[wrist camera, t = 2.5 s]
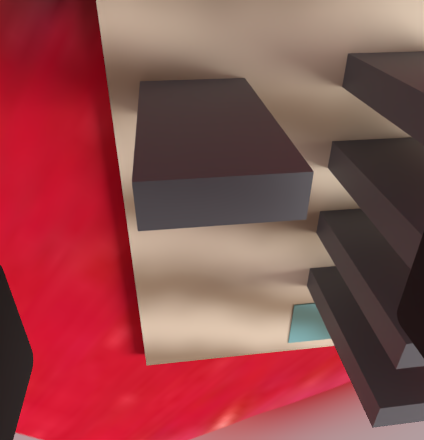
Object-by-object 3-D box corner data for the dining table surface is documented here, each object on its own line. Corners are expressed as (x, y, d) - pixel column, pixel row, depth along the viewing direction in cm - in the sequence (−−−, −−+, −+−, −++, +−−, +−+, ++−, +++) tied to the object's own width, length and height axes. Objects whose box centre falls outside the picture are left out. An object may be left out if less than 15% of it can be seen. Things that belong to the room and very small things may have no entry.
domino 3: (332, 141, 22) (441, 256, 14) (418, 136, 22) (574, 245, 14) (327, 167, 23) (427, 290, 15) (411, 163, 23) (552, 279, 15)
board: (91, -53, 17) (88, -53, 16) (530, -52, 19) (550, -52, 18) (146, 354, 31) (146, 366, 30) (392, 329, 33) (398, 339, 32)
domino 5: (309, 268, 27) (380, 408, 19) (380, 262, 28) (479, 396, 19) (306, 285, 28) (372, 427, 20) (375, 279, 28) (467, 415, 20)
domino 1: (139, 81, 19) (131, 181, 11) (244, 77, 20) (314, 171, 11) (143, 114, 20) (137, 231, 12) (243, 110, 20) (306, 219, 12)
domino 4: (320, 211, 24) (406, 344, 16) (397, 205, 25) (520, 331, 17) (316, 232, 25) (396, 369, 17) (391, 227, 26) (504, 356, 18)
